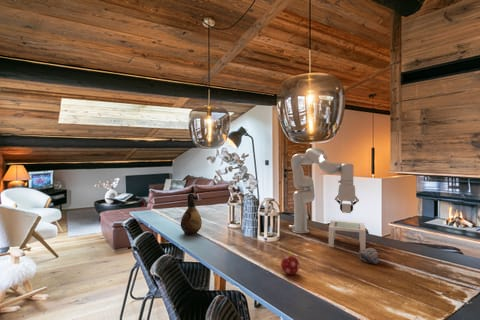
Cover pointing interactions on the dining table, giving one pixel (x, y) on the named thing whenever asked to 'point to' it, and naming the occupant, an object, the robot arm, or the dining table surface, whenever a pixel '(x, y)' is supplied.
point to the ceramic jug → (191, 218)
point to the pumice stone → (369, 256)
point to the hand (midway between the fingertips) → (346, 210)
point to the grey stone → (346, 208)
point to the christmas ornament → (290, 264)
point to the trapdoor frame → (361, 230)
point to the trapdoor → (347, 225)
